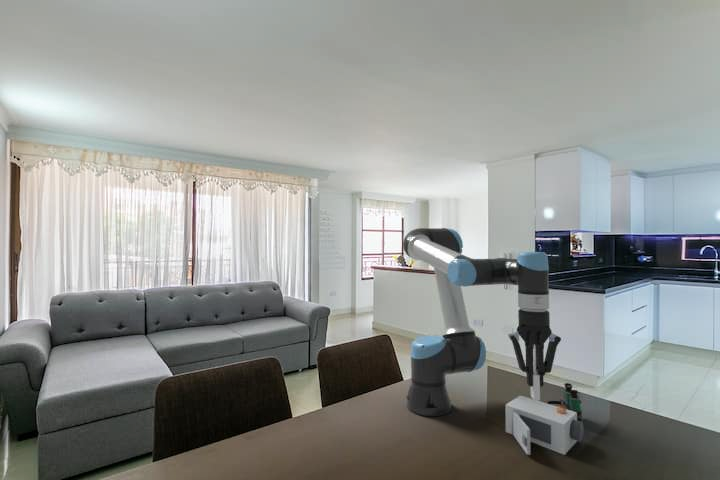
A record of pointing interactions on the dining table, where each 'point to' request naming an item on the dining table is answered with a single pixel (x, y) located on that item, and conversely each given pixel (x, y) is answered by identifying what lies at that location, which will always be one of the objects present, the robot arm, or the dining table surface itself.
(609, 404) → the dining table surface
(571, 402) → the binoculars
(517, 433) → the side door
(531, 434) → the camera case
